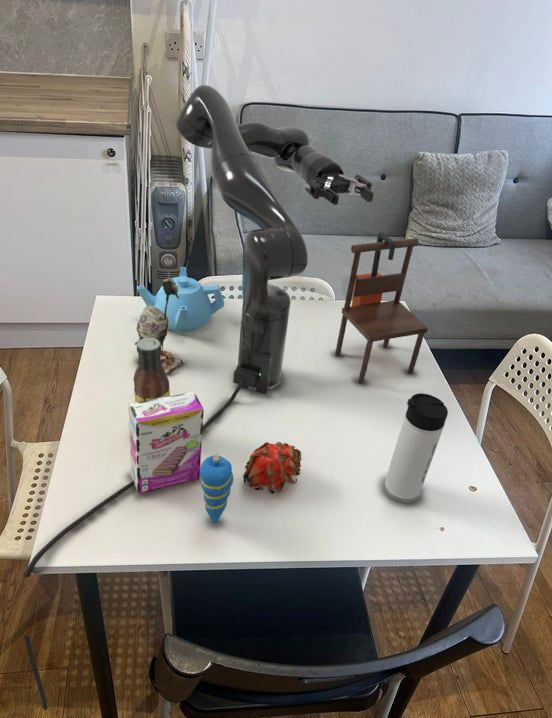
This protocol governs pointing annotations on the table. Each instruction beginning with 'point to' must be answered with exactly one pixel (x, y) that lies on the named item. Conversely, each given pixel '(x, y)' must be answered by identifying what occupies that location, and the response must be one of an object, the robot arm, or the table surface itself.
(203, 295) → the teapot
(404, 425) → the travel mug
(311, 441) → the table surface
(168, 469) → the candy bar box
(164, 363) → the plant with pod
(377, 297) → the orange open padlock
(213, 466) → the ornament
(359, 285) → the chair
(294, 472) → the dragon fruit
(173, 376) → the table surface
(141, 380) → the sauce bottle
